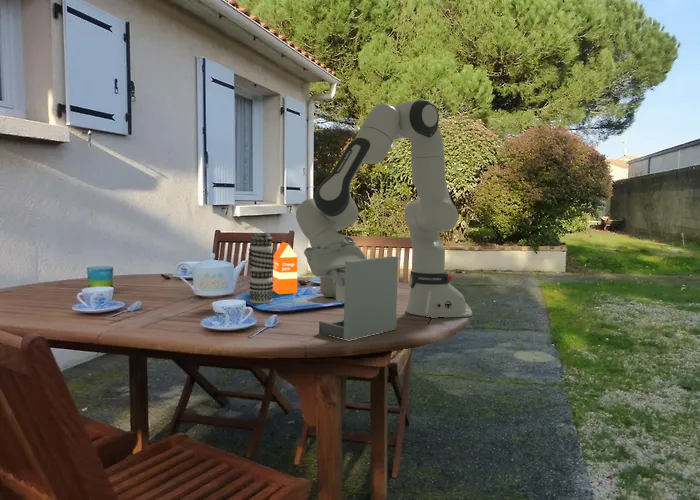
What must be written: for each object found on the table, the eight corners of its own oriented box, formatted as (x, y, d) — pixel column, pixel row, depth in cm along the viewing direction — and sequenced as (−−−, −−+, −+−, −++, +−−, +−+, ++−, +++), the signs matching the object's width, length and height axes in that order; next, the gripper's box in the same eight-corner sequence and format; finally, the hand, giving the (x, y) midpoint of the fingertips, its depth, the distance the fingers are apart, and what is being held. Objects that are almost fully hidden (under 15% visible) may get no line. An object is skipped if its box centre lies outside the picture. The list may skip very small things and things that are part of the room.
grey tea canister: (349, 297, 164) (350, 267, 163) (363, 300, 160) (364, 269, 159) (335, 300, 160) (336, 268, 159) (349, 303, 156) (350, 271, 155)
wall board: (366, 323, 176) (368, 253, 174) (395, 330, 167) (398, 257, 165) (319, 333, 162) (320, 257, 159) (348, 341, 153) (350, 261, 151)
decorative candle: (244, 299, 209) (245, 232, 206) (268, 298, 213) (268, 232, 211) (253, 304, 201) (253, 234, 198) (277, 302, 205) (278, 234, 203)
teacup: (322, 293, 225) (323, 274, 224) (349, 295, 223) (350, 275, 222) (315, 300, 211) (316, 279, 210) (344, 301, 210) (344, 280, 209)
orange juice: (278, 294, 222) (279, 243, 220) (272, 290, 230) (273, 241, 228) (297, 293, 225) (298, 243, 223) (290, 289, 233) (291, 241, 231)
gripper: (307, 240, 156) (330, 280, 150) (358, 238, 170) (381, 273, 164) (296, 255, 159) (318, 294, 153) (347, 251, 174) (369, 286, 168)
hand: (351, 283), depth 159 cm, fingers closed on grey tea canister, 5 cm apart
